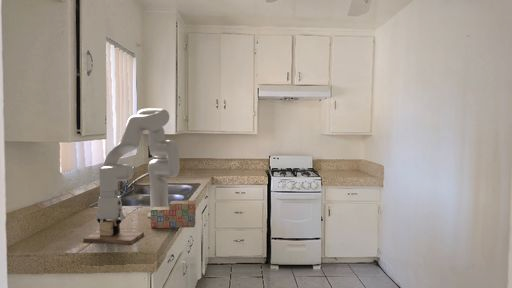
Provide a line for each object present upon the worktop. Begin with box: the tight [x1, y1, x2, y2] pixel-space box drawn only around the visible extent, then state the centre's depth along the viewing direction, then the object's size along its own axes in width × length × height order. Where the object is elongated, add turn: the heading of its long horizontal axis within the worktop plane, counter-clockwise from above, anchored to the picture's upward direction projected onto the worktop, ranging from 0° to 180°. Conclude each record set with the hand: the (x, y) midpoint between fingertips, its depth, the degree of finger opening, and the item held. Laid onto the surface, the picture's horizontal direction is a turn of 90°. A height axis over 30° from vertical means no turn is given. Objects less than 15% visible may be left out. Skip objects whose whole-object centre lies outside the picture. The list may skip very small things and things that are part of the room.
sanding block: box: [98, 219, 121, 237], centre depth 156 cm, size 8×5×6 cm, turn 171°
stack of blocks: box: [150, 200, 196, 229], centre depth 174 cm, size 21×6×12 cm, turn 94°
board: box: [82, 229, 145, 245], centre depth 155 cm, size 12×22×2 cm, turn 82°
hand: (110, 233), depth 156 cm, fingers closed on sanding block, 5 cm apart
